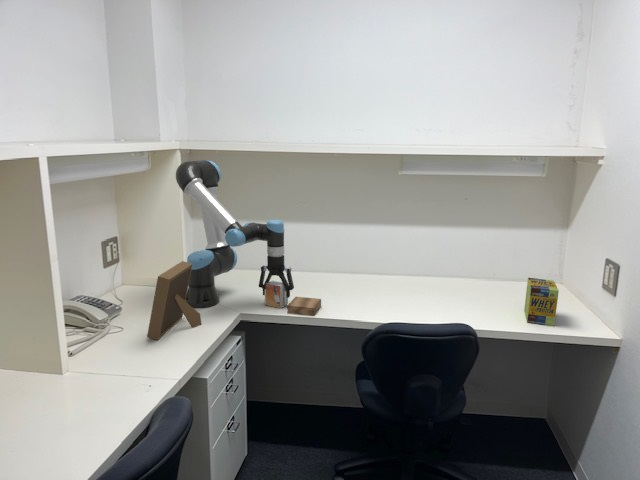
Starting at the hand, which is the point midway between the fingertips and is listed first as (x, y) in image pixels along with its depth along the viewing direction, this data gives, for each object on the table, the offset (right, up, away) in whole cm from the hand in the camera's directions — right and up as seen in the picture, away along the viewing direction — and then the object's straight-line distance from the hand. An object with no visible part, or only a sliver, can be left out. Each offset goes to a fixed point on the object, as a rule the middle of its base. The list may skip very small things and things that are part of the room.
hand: (276, 303), depth 206 cm
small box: (0, -1, 0) cm, 1 cm away
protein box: (+113, -5, -12) cm, 114 cm away
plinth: (+13, -3, -5) cm, 14 cm away
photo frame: (-36, -7, -27) cm, 46 cm away
